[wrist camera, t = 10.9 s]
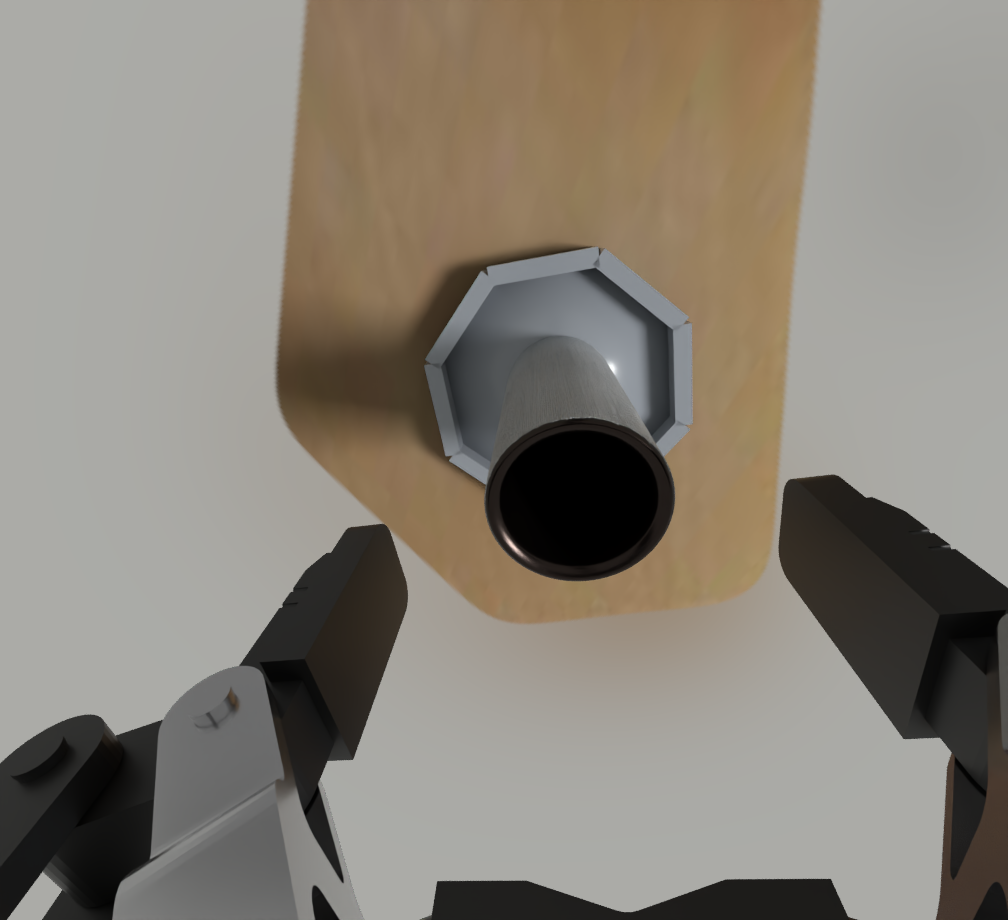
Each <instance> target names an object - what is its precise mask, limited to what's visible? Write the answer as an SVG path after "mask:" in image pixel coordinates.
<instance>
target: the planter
mask: <svg viewBox="0 0 1008 920" xmlns="http://www.w3.org/2000/svg"><path fill="white" fill-rule="evenodd" d="M484 504H485V513H486V518H487V522H488V524H489V527H490V530H491V532H492V534H493V536H494V537H495V539H496V541H497V542H498V544H499V545H500V546H501V547H502V549H503V550H504V551H505V552H506V553H507V554H508V555H509V556H510V557H511V558H512V559H514V560H515V561H516V562H517V563H519V564H520V565H522V566H523V567H525V568H527V569H529V570H531V571H533V572H535V573H537V574H540V575H542V576H546V577H549V578H553V579H558V580H565V581H589V580H596V579H601V578H605V577H609V576H612V575H615V574H617V573H620V572H622V571H624V570H626V569H628V568H630V567H632V566H633V565H635V564H636V563H638V562H639V561H641V560H642V559H643V558H644V557H646V556H647V555H648V554H649V553H650V552H651V551H652V550H653V549H654V548H655V547H656V545H657V544H658V543H659V542H660V540H661V539H662V537H663V536H664V534H665V532H666V530H667V528H668V526H669V524H670V521H671V518H672V515H673V510H674V504H675V487H674V481H673V477H672V474H671V471H670V468H669V466H668V464H667V462H666V460H665V458H664V456H663V455H662V453H661V451H660V450H659V448H658V446H657V445H656V443H655V441H654V440H653V438H652V436H651V435H650V433H649V431H648V430H647V428H646V426H645V425H644V423H643V421H642V420H641V418H640V416H639V415H638V413H637V411H636V410H635V408H634V406H633V405H632V403H631V401H630V400H629V398H628V396H627V395H626V393H625V391H624V390H623V388H622V386H621V385H620V383H619V381H618V380H617V378H616V376H615V375H614V373H613V371H612V370H611V368H610V366H609V365H608V363H607V361H606V360H605V359H604V357H603V356H602V355H601V354H600V353H599V352H598V351H597V350H596V349H595V348H594V347H593V346H591V345H590V344H588V343H587V342H585V341H583V340H580V339H577V338H574V337H568V336H555V337H549V338H545V339H543V340H540V341H538V342H536V343H534V344H532V345H531V346H529V347H528V348H527V349H526V350H525V351H524V352H523V353H522V354H521V355H520V356H519V357H518V359H517V360H516V362H515V363H514V365H513V367H512V369H511V372H510V374H509V378H508V382H507V386H506V391H505V396H504V401H503V406H502V410H501V415H500V420H499V425H498V429H497V434H496V439H495V444H494V449H493V453H492V458H491V463H490V468H489V472H488V477H487V482H486V488H485V497H484Z"/></svg>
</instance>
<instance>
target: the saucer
mask: <svg viewBox="0 0 1008 920" xmlns="http://www.w3.org/2000/svg"><path fill="white" fill-rule="evenodd" d="M688 318H689V317H688V316H687V315H686V314H684V313H683V312H682V311H681V310H680V309H678V308H677V307H676V306H675V305H673V304H672V303H671V302H670V301H669V300H667V299H666V298H665V297H664V296H662V295H661V294H660V293H659V292H658V291H656V290H655V289H654V288H653V287H652V286H650V285H649V284H648V283H647V282H645V281H644V280H643V279H642V278H641V277H639V276H638V275H637V274H636V273H634V272H633V271H632V270H631V269H630V268H628V267H627V266H626V265H625V264H623V263H622V262H621V261H620V260H619V259H617V258H616V257H615V256H614V255H613V254H611V253H610V252H609V251H608V250H606V249H605V248H600V249H598V247H589V248H584V249H578V250H573V251H567V252H562V253H556V254H551V255H546V256H540V257H535V258H529V259H524V260H518V261H513V262H507V263H502V264H497V265H491V266H488V267H487V270H485V269H484V270H482V271H481V272H480V274H479V275H478V277H477V278H476V280H475V281H474V283H473V285H472V286H471V288H470V289H469V291H468V293H467V294H466V296H465V297H464V299H463V300H462V302H461V304H460V305H459V307H458V308H457V310H456V311H455V313H454V315H453V316H452V318H451V319H450V321H449V322H448V324H447V326H446V327H445V329H444V330H443V332H442V333H441V335H440V337H439V338H438V340H437V341H436V343H435V344H434V346H433V348H432V349H431V351H430V352H429V354H428V355H427V357H426V359H425V360H426V361H428V362H427V363H426V364H425V365H424V368H425V372H426V376H427V380H428V384H429V389H430V393H431V397H432V401H433V405H434V409H435V414H436V418H437V422H438V426H439V430H440V434H441V438H442V443H443V447H444V451H445V455H446V456H451V457H450V460H449V461H450V462H452V463H453V464H455V465H456V466H458V467H459V468H461V469H462V470H464V471H465V472H467V473H468V474H470V475H472V476H473V477H475V478H476V479H478V480H479V481H481V482H482V483H484V484H485V485H486V482H487V477H488V472H489V468H490V463H491V458H492V453H493V449H494V444H495V439H496V434H497V429H498V425H499V420H500V415H501V410H502V406H503V401H504V396H505V391H506V386H507V382H508V378H509V374H510V372H511V369H512V367H513V365H514V363H515V362H516V360H517V359H518V357H519V356H520V355H521V354H522V353H523V352H524V351H525V350H526V349H527V348H528V347H529V346H531V345H532V344H534V343H536V342H538V341H540V340H543V339H545V338H549V337H555V336H568V337H574V338H577V339H580V340H583V341H585V342H587V343H588V344H590V345H591V346H593V347H594V348H595V349H596V350H597V351H598V352H599V353H600V354H601V355H602V356H603V357H604V359H605V360H606V361H607V363H608V365H609V366H610V368H611V370H612V371H613V373H614V375H615V376H616V378H617V380H618V381H619V383H620V385H621V386H622V388H623V390H624V391H625V393H626V395H627V396H628V398H629V400H630V401H631V403H632V405H633V406H634V408H635V410H636V411H637V413H638V415H639V416H640V418H641V420H642V421H643V423H644V425H645V426H646V428H647V430H648V431H649V433H650V435H651V436H652V438H653V440H654V441H655V443H656V445H657V446H658V448H659V450H660V451H661V453H662V455H663V456H665V455H666V454H667V453H668V452H669V451H670V450H671V449H672V448H673V447H674V446H675V445H676V444H677V443H678V442H679V441H680V440H681V438H682V437H683V436H684V435H685V434H686V433H687V432H688V431H689V430H690V429H689V427H688V426H687V425H689V424H693V420H692V323H691V322H689V321H687V319H688Z"/></svg>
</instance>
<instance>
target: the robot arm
mask: <svg viewBox="0 0 1008 920" xmlns="http://www.w3.org/2000/svg"><path fill="white" fill-rule="evenodd" d="M779 557H780V562H781V566H782V569H783V571H784V574H785V575H786V577H787V579H788V580H789V582H790V583H791V585H792V586H793V587H794V589H795V590H796V591H797V593H798V594H799V596H800V597H801V598H802V600H803V601H804V603H805V604H806V605H807V607H808V608H809V609H810V611H811V612H812V613H813V615H814V616H815V618H816V619H817V620H818V622H819V623H820V624H821V626H822V627H823V629H824V630H825V631H826V633H827V634H828V635H829V637H830V638H831V640H832V641H833V642H834V644H835V645H836V646H837V648H838V649H839V651H840V652H841V653H842V655H843V656H844V657H845V659H846V660H847V662H848V663H849V664H850V666H851V667H852V669H853V670H854V671H855V673H856V674H857V675H858V677H859V678H860V679H861V681H862V682H863V684H864V685H865V686H866V688H867V689H868V691H869V692H870V693H871V695H872V696H873V697H874V699H875V700H876V702H877V703H878V704H879V706H880V707H881V708H882V710H883V711H884V713H885V714H886V715H887V716H888V718H889V719H890V721H891V722H892V723H893V725H894V726H895V728H896V729H897V730H898V732H899V733H900V735H901V736H902V737H903V739H918V738H941V739H942V741H943V742H944V743H945V744H946V746H947V747H948V748H949V749H950V751H951V752H952V753H951V756H950V759H949V762H948V766H947V777H946V797H945V815H944V816H945V817H944V834H943V852H942V871H941V888H940V899H939V906H938V912H937V916H936V920H1008V588H1007V587H1006V586H1004V585H1003V584H1002V583H1000V582H999V581H997V580H996V579H995V578H994V577H992V576H991V575H990V574H988V573H987V572H986V571H984V570H983V569H982V568H980V567H979V566H978V565H976V564H975V563H974V562H972V561H971V560H970V559H968V558H967V557H966V556H964V555H963V554H962V553H960V552H959V551H957V550H956V549H951V548H950V544H948V543H947V542H945V541H944V540H943V539H941V538H940V537H939V536H938V535H936V534H935V533H930V532H929V529H928V528H927V527H925V526H924V525H923V524H921V523H920V522H919V521H917V520H916V519H915V518H913V517H912V516H911V515H909V514H908V513H907V512H905V511H903V510H901V509H899V508H896V507H894V506H892V505H889V504H887V503H884V502H882V501H880V500H877V499H875V498H873V497H870V498H866V497H864V496H863V495H862V494H861V493H859V492H858V491H857V490H855V489H854V488H853V487H852V486H851V485H849V484H848V483H847V482H845V481H844V480H843V479H842V478H840V477H839V476H836V475H824V476H816V477H807V478H797V479H790V480H789V481H788V482H787V483H786V485H785V488H784V493H783V504H782V515H781V526H780V537H779ZM407 602H408V590H407V584H406V579H405V576H404V573H403V570H402V567H401V564H400V561H399V558H398V555H397V551H396V548H395V545H394V542H393V539H392V536H391V533H390V531H389V529H388V527H387V526H386V525H384V524H377V525H368V526H359V527H351V528H348V529H347V530H346V531H345V532H344V534H343V535H342V537H341V538H340V540H339V541H338V543H337V545H336V546H335V548H334V549H333V551H332V552H331V553H326V554H325V555H323V556H322V557H321V558H320V559H319V560H317V561H316V562H315V563H314V564H313V565H311V566H310V567H309V568H308V569H307V570H306V571H305V572H304V574H303V575H302V577H301V578H300V579H299V581H298V582H297V584H296V585H295V587H294V588H293V592H291V593H290V594H289V595H288V597H287V598H286V600H285V601H284V602H283V607H282V608H279V609H278V611H277V612H276V614H275V615H274V617H273V618H272V620H271V621H270V622H269V624H268V625H267V627H266V628H265V630H264V631H263V632H262V634H261V636H260V637H259V638H258V640H257V641H256V643H255V644H254V645H253V647H252V648H251V650H250V651H249V653H248V654H247V655H246V657H245V658H244V660H243V661H242V663H241V664H240V665H239V666H237V667H232V668H228V669H225V670H222V671H219V672H217V673H215V674H213V675H211V676H209V677H207V678H206V679H204V680H202V681H201V682H199V683H198V684H196V685H195V686H193V687H192V688H191V689H190V690H189V691H187V692H186V693H185V694H184V695H183V696H182V697H180V698H179V700H178V701H177V702H176V703H175V704H174V705H173V706H172V707H171V709H170V710H169V711H168V713H167V714H166V716H165V718H164V719H163V720H161V721H158V722H155V723H152V724H149V725H146V726H143V727H140V728H137V729H134V730H131V731H128V732H125V733H122V734H120V735H116V736H115V735H114V733H113V732H112V731H111V730H110V728H109V727H108V726H107V724H106V723H105V722H104V721H103V719H102V718H101V717H99V716H96V715H82V716H77V717H73V718H70V719H67V720H65V721H62V722H60V723H58V724H56V725H54V726H52V727H50V728H48V729H46V730H44V731H43V732H41V733H39V734H38V735H36V736H34V737H33V738H31V739H30V740H28V741H27V742H25V743H24V744H23V745H21V746H20V747H19V748H17V749H16V750H15V751H14V752H13V753H12V754H10V755H9V756H8V757H7V758H6V759H5V760H4V761H3V762H1V763H0V920H7V919H8V917H9V916H10V915H11V913H12V912H13V911H14V909H15V908H16V907H17V905H18V904H19V902H20V901H21V900H22V898H23V897H24V896H25V894H26V893H27V892H28V890H29V889H30V887H31V886H32V885H33V884H34V882H35V881H36V879H37V878H38V877H39V875H40V874H41V873H42V871H43V872H44V873H45V874H46V875H47V876H48V877H49V878H50V879H51V880H53V882H55V883H56V884H57V885H58V886H59V887H60V888H61V889H62V891H61V893H60V894H59V896H58V897H57V899H56V900H55V902H54V903H53V905H52V906H51V908H50V909H49V910H48V912H47V914H46V915H45V916H44V918H43V919H42V920H364V918H363V915H362V913H361V911H360V908H359V905H358V903H357V900H356V897H355V894H354V891H353V887H352V884H351V880H350V877H349V874H348V870H347V866H346V863H345V859H344V856H343V853H342V849H341V845H340V842H339V838H338V835H337V831H336V828H335V824H334V821H333V818H332V814H331V811H330V807H329V803H328V800H327V797H326V793H325V790H324V787H323V785H322V783H321V781H320V778H321V775H322V773H323V770H324V768H325V765H326V763H327V761H335V760H353V758H354V756H355V753H356V750H357V747H358V744H359V742H360V739H361V736H362V733H363V730H364V727H365V725H366V721H367V719H368V716H369V713H370V711H371V708H372V705H373V702H374V699H375V697H376V694H377V691H378V688H379V685H380V682H381V680H382V677H383V674H384V671H385V668H386V665H387V662H388V660H389V657H390V654H391V651H392V648H393V646H394V643H395V640H396V637H397V634H398V632H399V629H400V626H401V623H402V620H403V617H404V615H405V612H406V608H407ZM420 920H857V919H853V918H850V917H848V916H847V914H846V911H845V909H844V907H843V905H842V903H841V901H840V898H839V896H838V894H837V892H836V889H835V887H834V885H833V883H832V881H831V879H734V880H723V881H720V882H718V883H715V884H712V885H709V886H706V887H704V888H701V889H698V890H695V891H692V892H689V893H687V894H684V895H681V896H678V897H675V898H673V899H670V900H667V901H664V902H661V903H659V904H656V905H653V906H650V907H647V908H644V909H642V910H639V911H635V912H620V911H616V910H613V909H610V908H607V907H604V906H601V905H598V904H594V903H591V902H589V901H586V900H583V899H580V898H577V897H574V896H571V895H568V894H564V893H562V892H559V891H556V890H553V889H550V888H546V887H544V886H541V885H538V884H534V883H532V882H529V881H438V882H437V886H436V893H435V899H434V906H433V911H432V915H431V916H428V917H425V918H422V919H420Z"/></svg>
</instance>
